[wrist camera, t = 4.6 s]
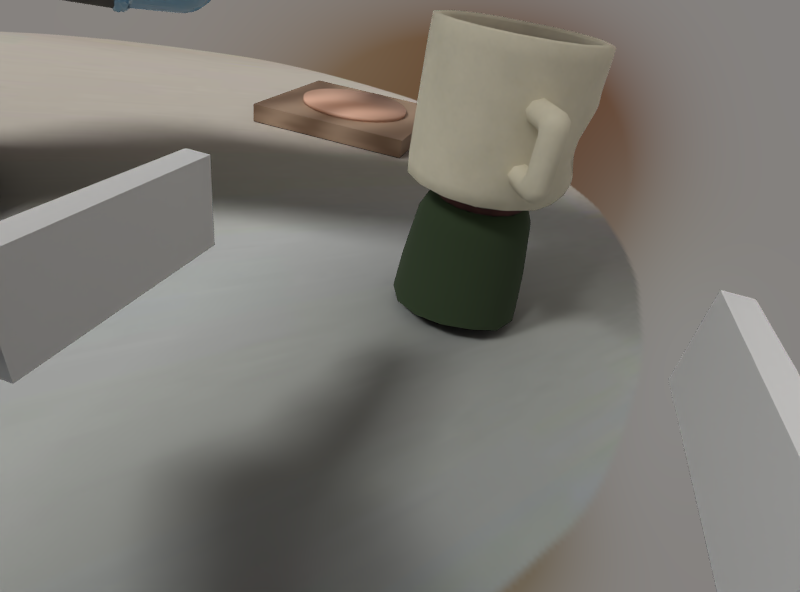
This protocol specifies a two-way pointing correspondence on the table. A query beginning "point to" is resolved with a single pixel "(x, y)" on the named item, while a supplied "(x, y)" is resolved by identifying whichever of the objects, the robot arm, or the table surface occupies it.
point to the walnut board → (342, 116)
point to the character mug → (491, 157)
